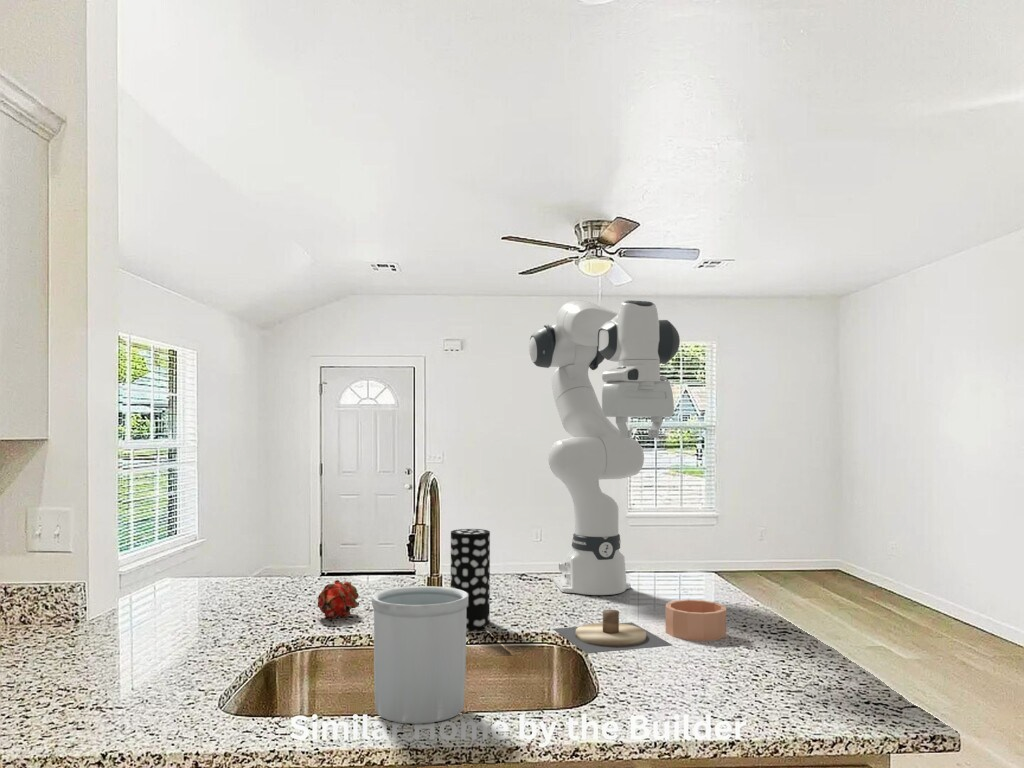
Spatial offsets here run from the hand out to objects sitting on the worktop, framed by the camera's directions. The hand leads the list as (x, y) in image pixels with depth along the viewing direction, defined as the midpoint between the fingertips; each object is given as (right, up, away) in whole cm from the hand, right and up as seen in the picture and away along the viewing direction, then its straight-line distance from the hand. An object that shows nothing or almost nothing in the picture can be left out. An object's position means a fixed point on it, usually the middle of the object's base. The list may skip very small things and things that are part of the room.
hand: (639, 438), depth 183 cm
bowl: (+10, -40, -10) cm, 42 cm away
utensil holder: (-42, -39, -51) cm, 77 cm away
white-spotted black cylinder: (-36, -40, -3) cm, 54 cm away
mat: (-8, -40, -13) cm, 42 cm away
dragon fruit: (-66, -40, +5) cm, 77 cm away
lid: (-8, -39, -13) cm, 42 cm away
